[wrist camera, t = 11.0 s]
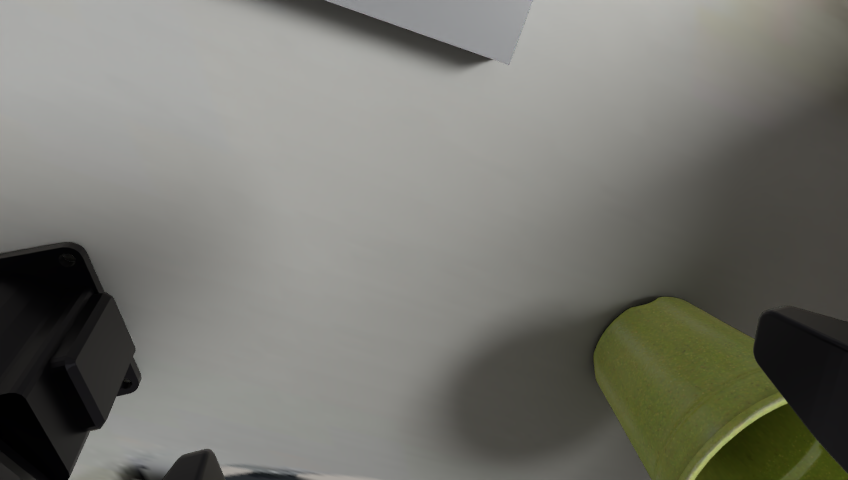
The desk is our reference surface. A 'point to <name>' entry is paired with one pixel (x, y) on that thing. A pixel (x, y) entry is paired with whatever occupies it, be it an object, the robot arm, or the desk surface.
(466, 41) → the baseplate
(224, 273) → the desk surface
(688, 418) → the plant pot
